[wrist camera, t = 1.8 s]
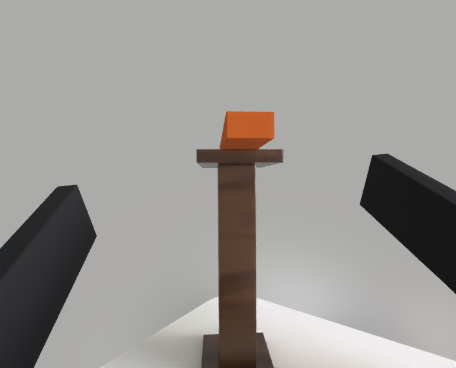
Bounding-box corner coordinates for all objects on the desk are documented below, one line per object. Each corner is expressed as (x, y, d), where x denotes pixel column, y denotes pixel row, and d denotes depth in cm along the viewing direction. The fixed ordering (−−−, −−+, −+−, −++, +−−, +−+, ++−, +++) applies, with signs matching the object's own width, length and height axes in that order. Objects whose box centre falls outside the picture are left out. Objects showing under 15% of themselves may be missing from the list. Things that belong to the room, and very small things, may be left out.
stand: (283, 407, 30) (283, 149, 29) (198, 412, 29) (196, 149, 28) (261, 334, 44) (261, 158, 43) (203, 336, 43) (202, 158, 42)
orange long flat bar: (274, 138, 21) (274, 111, 21) (226, 138, 21) (226, 111, 21) (242, 159, 45) (242, 147, 45) (219, 159, 45) (219, 147, 45)
